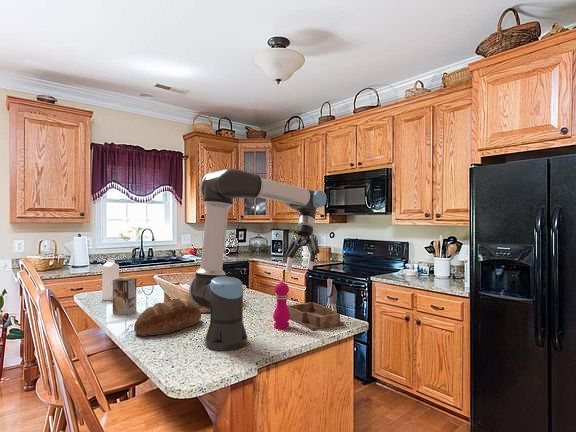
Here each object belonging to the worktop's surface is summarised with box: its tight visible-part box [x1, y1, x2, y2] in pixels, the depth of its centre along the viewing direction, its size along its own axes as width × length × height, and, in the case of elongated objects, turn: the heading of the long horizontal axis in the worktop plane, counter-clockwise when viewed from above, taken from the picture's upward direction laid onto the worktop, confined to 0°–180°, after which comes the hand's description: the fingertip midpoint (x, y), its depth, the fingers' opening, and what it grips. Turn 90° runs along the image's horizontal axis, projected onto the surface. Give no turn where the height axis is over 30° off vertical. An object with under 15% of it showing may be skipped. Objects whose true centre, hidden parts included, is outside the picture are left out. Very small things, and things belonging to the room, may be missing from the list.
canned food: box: [163, 280, 181, 303], centre depth 192 cm, size 8×8×12 cm
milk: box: [101, 259, 120, 301], centre depth 205 cm, size 6×6×22 cm
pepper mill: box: [272, 278, 290, 330], centre depth 153 cm, size 7×7×20 cm
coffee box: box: [112, 277, 137, 315], centre depth 176 cm, size 9×6×16 cm
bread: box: [133, 298, 202, 337], centre depth 153 cm, size 16×29×11 cm, turn 144°
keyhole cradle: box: [287, 301, 345, 331], centre depth 163 cm, size 16×24×5 cm, turn 29°
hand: (298, 270), depth 165 cm, fingers open, 13 cm apart
